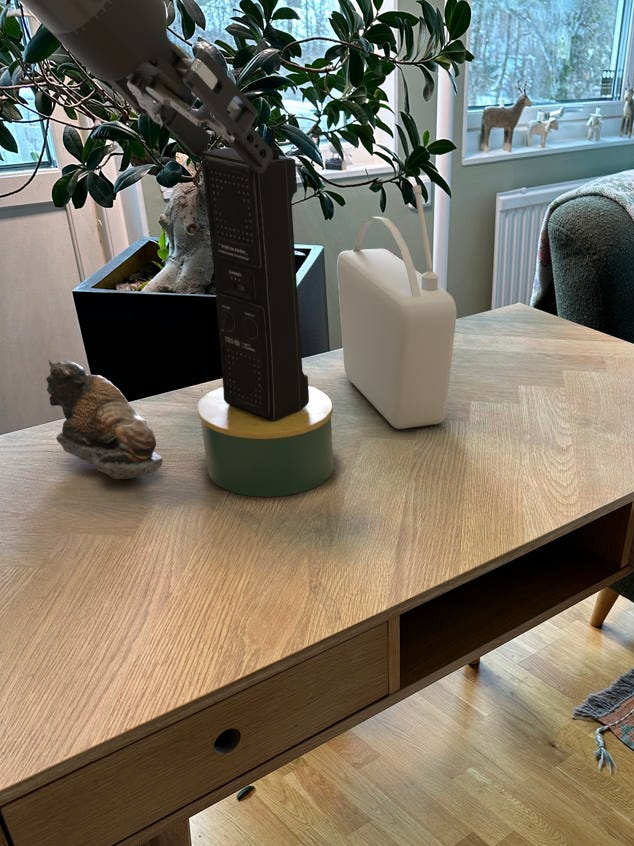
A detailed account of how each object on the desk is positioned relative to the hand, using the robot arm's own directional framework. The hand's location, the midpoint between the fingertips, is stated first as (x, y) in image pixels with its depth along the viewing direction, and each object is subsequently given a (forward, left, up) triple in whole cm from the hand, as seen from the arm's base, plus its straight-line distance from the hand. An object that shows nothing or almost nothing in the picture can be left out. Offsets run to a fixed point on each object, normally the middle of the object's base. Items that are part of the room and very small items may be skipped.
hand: (233, 155), depth 75 cm
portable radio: (0, +1, -23) cm, 23 cm away
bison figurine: (-11, -11, -30) cm, 34 cm away
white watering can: (-4, +24, -30) cm, 38 cm away
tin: (0, +1, -30) cm, 30 cm away
